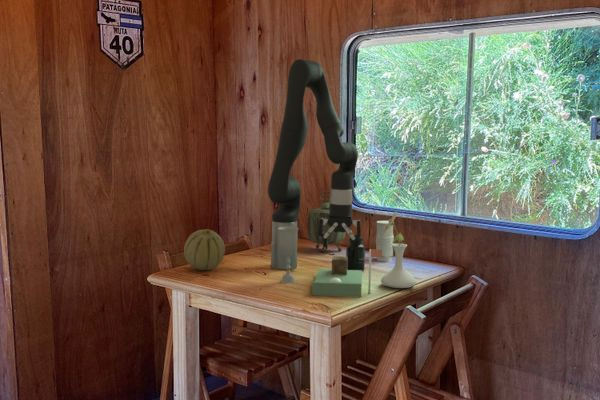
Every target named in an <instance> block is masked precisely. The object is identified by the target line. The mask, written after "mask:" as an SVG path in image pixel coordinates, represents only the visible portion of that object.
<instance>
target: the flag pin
mask: <svg viewBox="0 0 600 400" xmlns="http://www.w3.org/2000/svg"><path fill="white" fill-rule="evenodd" d="M378 257H382V250H378V249H373V248H370V249H369V250H368V287H367V291H368V294H371V280H372V279H371V277H372V276H371V274H372V273H371V272H372V258H378Z"/></svg>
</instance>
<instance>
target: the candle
mask: <svg viewBox="0 0 600 400" xmlns="http://www.w3.org/2000/svg"><path fill="white" fill-rule="evenodd" d="M388 223H389V220H377V221H376V235H375V246H376V249H378V250H382V257H376V260H377V262H378V261H379V262H391V261H392V260H393V259H392V257H393V256H394V248H393V246H392V244H395V243H393V240H394V239H395V236H394V226H393V225H391V226H390V227H389V229H388V230H387V231H386V232H385V233H384V231H383V230H384V229H385V226H386V225H387V224H388Z"/></svg>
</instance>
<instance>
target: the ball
mask: <svg viewBox="0 0 600 400" xmlns="http://www.w3.org/2000/svg"><path fill="white" fill-rule="evenodd" d="M329 282H342V281H341V280H340V279H339V278H336V277H335V278H332V279H330V281H329Z"/></svg>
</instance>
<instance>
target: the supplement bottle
mask: <svg viewBox="0 0 600 400" xmlns="http://www.w3.org/2000/svg"><path fill="white" fill-rule="evenodd" d="M363 238H364V237H363V236H361V237H360V238H358V239H356V240H355V248H354V249H353V250H352V251H350V248H351V237H350V236H349V240H348V244H346V248H345V249H346V252H345V257H347V270H362V272H363V271H364V270H365V265H366V247H365V245H364V244H363V243H364V241H363V240H364V239H363Z"/></svg>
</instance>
